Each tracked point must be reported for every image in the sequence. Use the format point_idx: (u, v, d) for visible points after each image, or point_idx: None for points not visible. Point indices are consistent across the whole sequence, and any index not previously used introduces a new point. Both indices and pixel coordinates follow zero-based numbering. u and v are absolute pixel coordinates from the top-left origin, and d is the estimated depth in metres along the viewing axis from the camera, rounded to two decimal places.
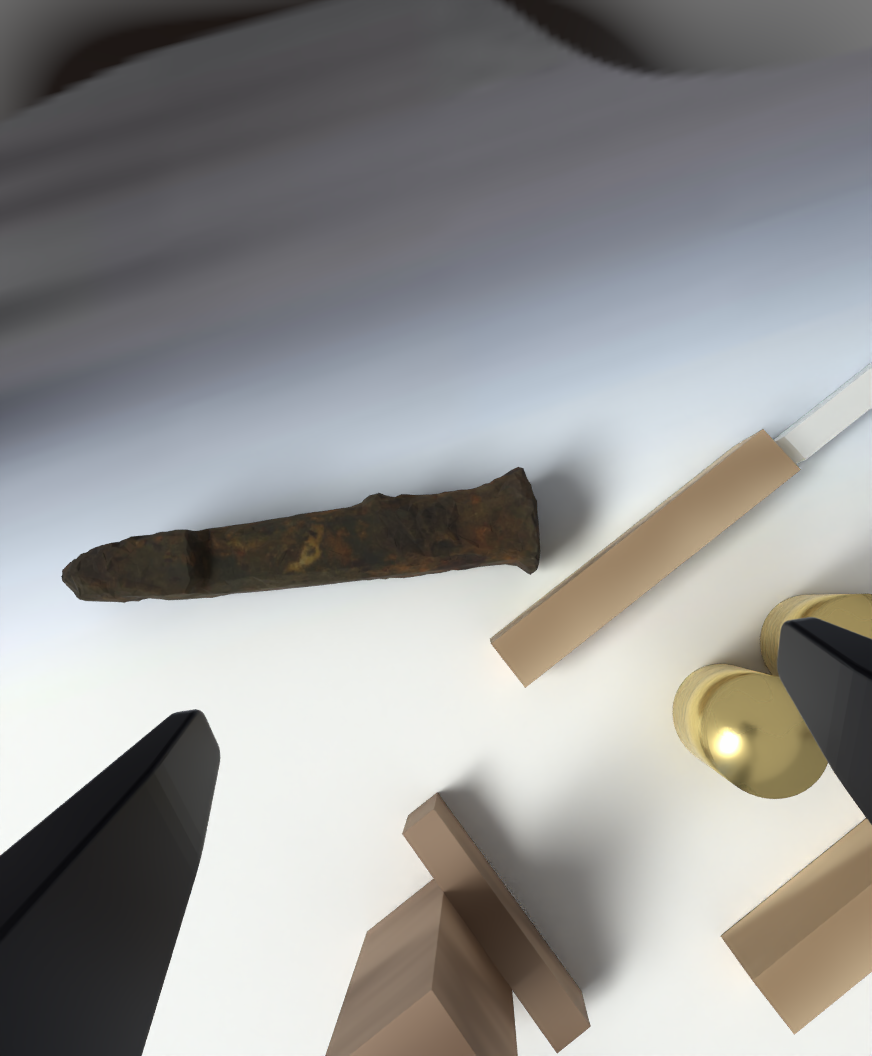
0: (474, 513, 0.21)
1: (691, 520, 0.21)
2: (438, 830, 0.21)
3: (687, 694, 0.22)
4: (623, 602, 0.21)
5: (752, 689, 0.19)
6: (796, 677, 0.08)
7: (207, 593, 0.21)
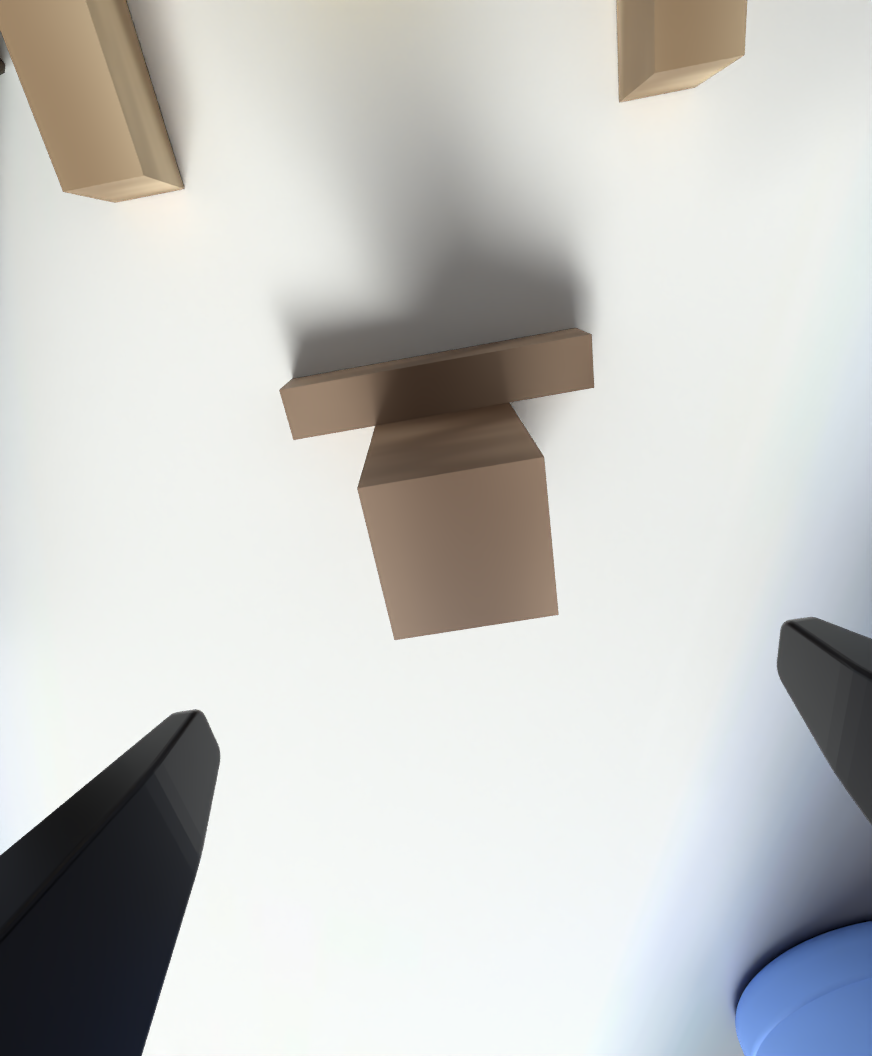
0: None
1: None
2: (306, 397, 0.16)
3: None
4: None
5: None
6: (796, 677, 0.08)
7: None
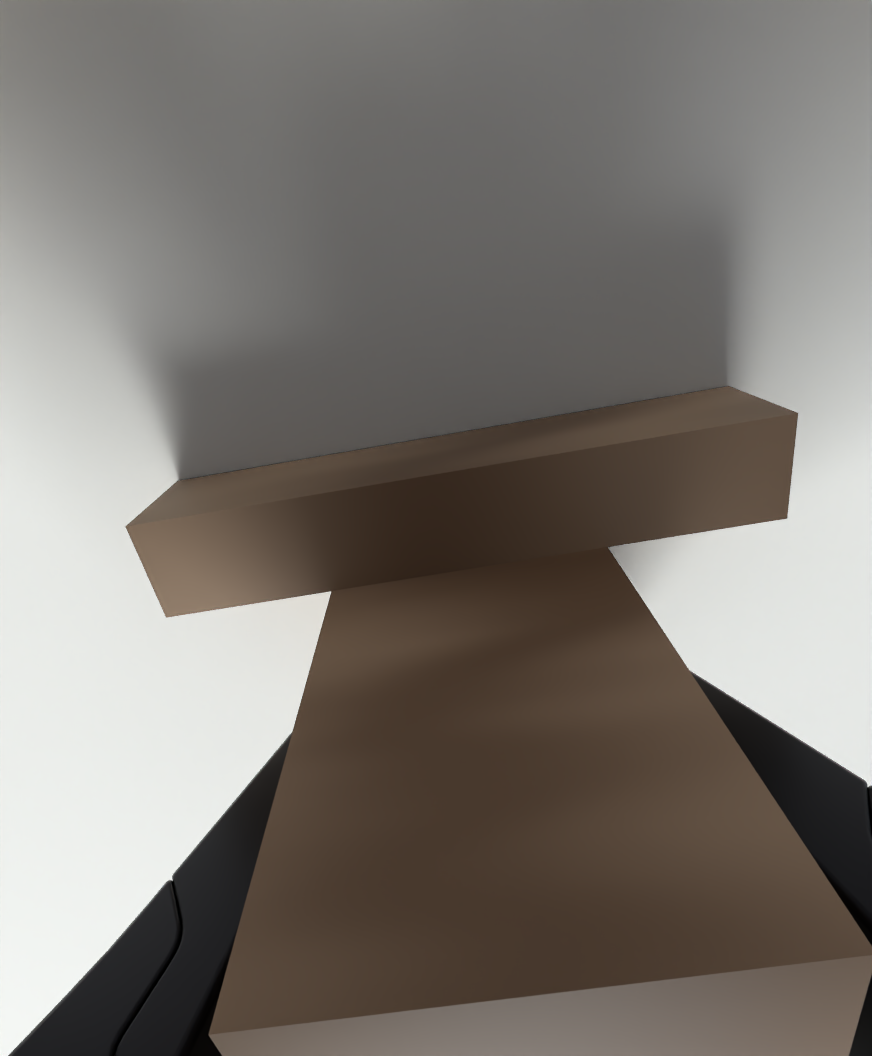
0: None
1: None
2: (183, 540, 0.08)
3: None
4: None
5: None
6: None
7: None
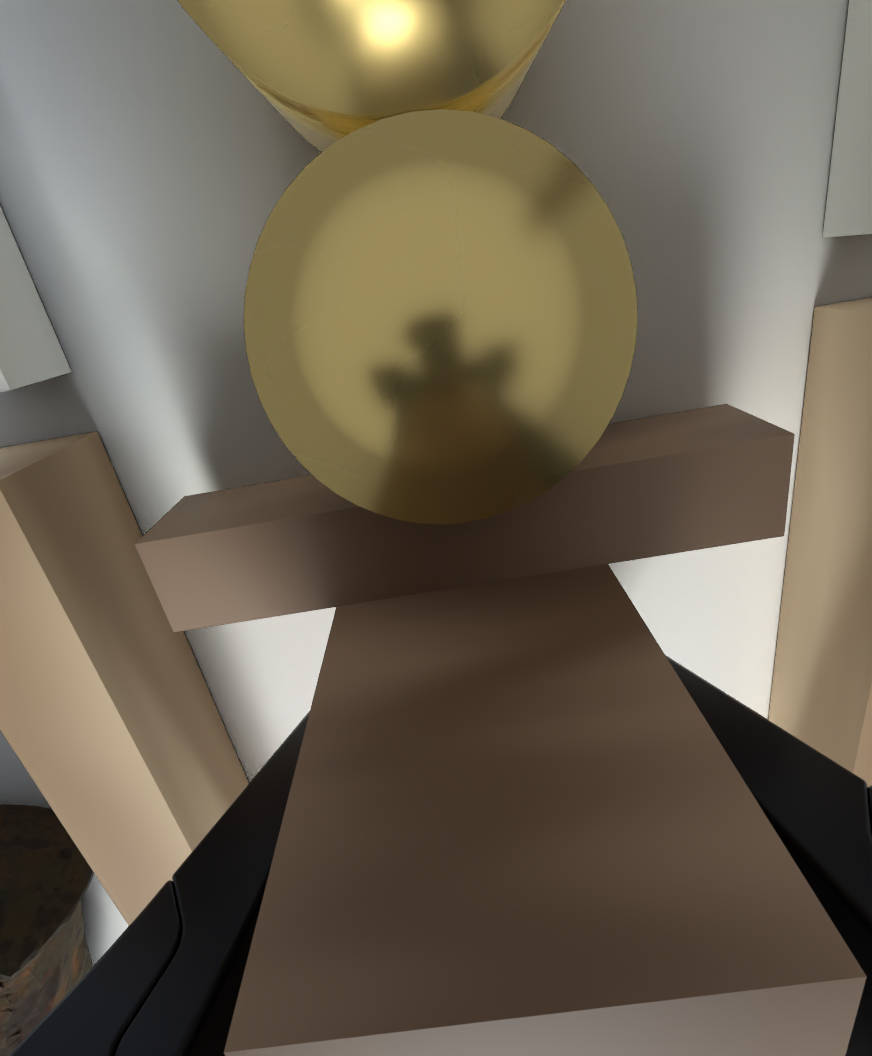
0: None
1: (68, 736, 0.09)
2: (191, 557, 0.08)
3: None
4: None
5: (285, 307, 0.06)
6: None
7: None
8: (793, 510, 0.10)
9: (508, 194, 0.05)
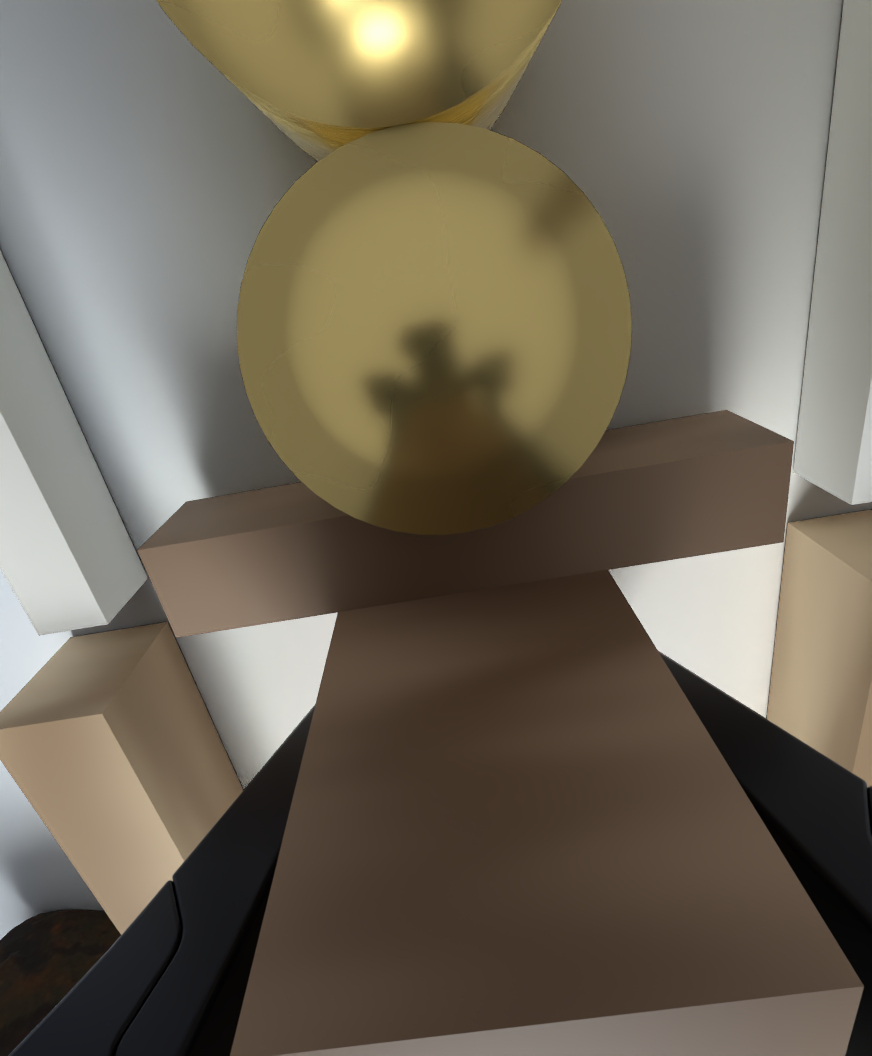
0: None
1: (147, 891, 0.11)
2: (193, 563, 0.08)
3: None
4: None
5: (278, 324, 0.06)
6: None
7: None
8: (772, 674, 0.12)
9: (497, 204, 0.05)
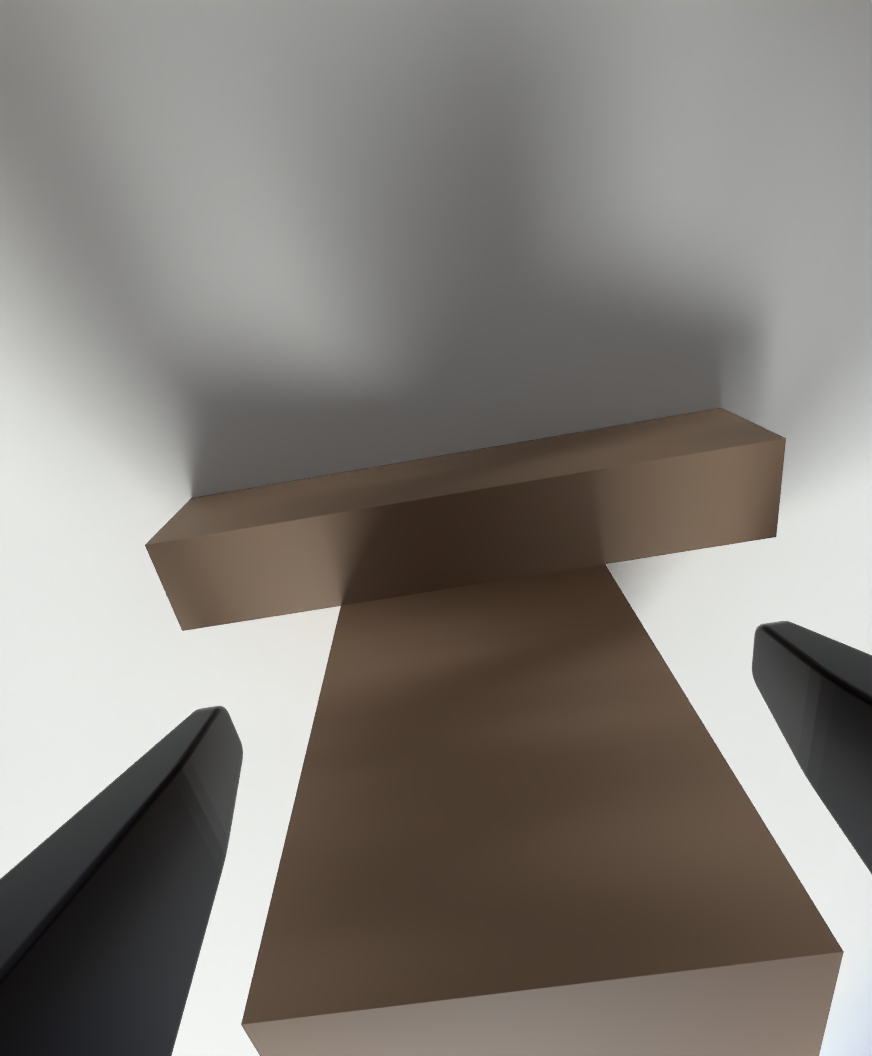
0: None
1: None
2: (201, 557, 0.08)
3: None
4: None
5: None
6: (770, 681, 0.08)
7: None
8: None
9: None
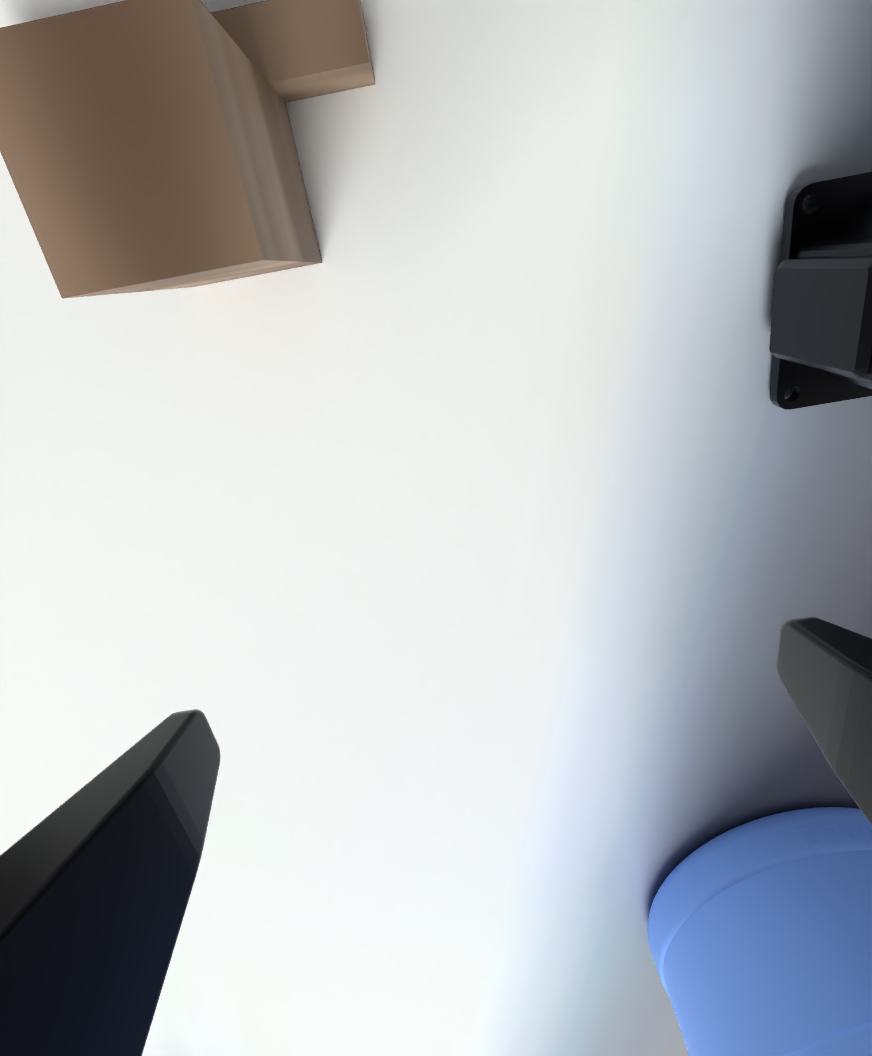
0: None
1: None
2: None
3: None
4: None
5: None
6: (796, 677, 0.08)
7: None
8: None
9: None
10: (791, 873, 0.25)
